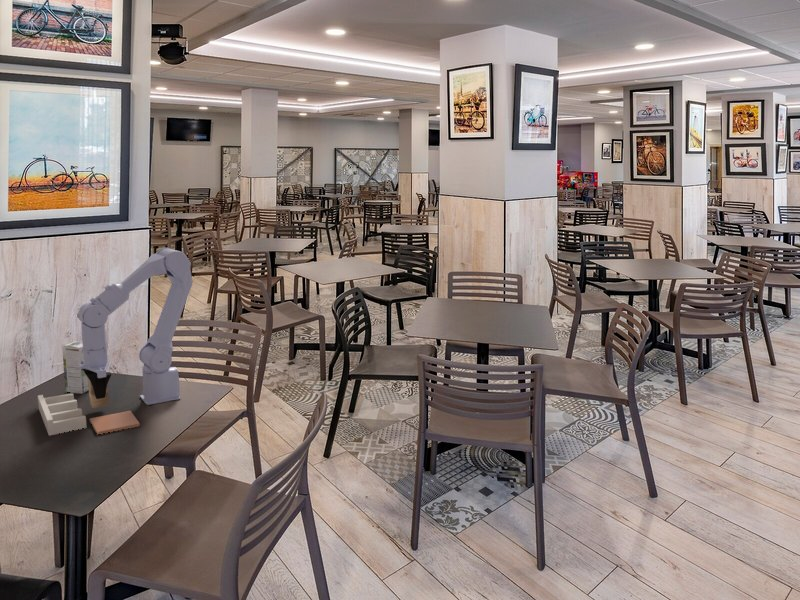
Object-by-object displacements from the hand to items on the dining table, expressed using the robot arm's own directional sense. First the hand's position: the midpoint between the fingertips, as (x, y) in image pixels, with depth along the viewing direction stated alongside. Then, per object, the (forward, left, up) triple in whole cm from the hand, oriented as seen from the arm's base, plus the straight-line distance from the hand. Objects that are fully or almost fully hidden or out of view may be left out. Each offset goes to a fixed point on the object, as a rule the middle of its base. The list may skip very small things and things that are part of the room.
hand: (98, 395), depth 159 cm
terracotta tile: (-1, +11, -5) cm, 12 cm away
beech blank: (0, 0, -3) cm, 3 cm away
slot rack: (+9, 0, -5) cm, 10 cm away
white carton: (+2, -20, -5) cm, 21 cm away
